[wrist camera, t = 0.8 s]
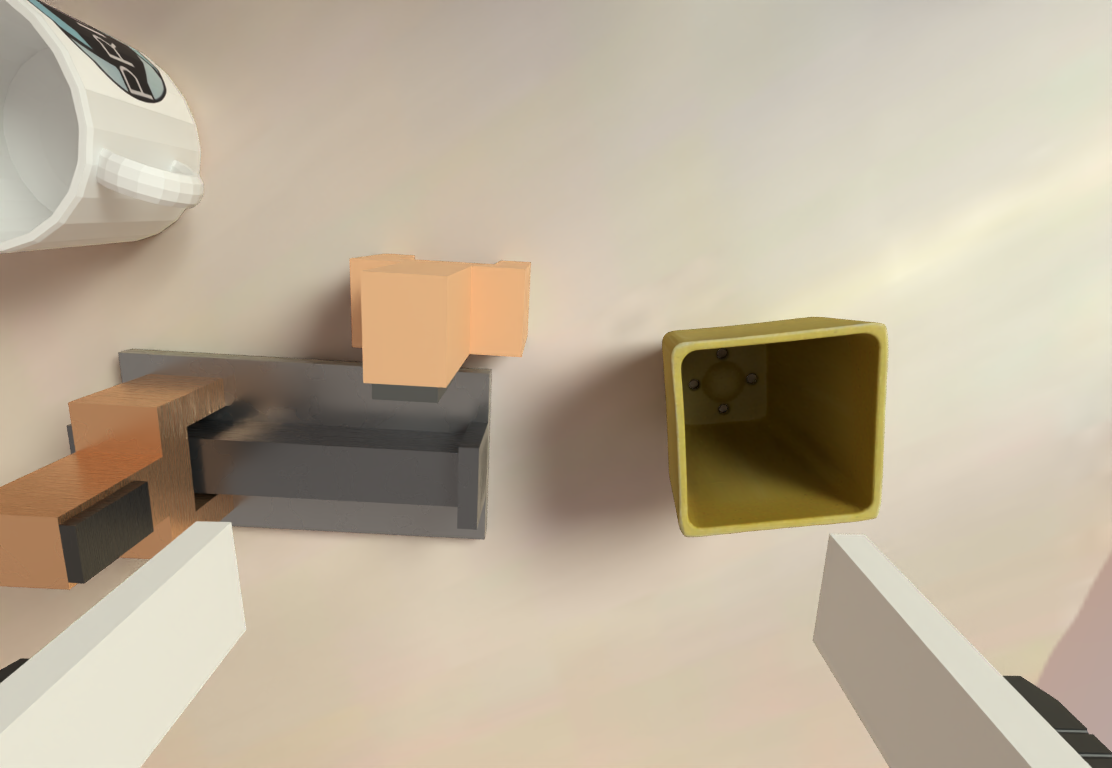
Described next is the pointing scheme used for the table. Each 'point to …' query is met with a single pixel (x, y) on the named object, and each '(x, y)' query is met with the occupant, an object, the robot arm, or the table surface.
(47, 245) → the mug
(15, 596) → the table surface
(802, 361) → the flower pot
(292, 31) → the table surface
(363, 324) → the tan wooden arch block
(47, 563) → the rail base
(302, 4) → the table surface
